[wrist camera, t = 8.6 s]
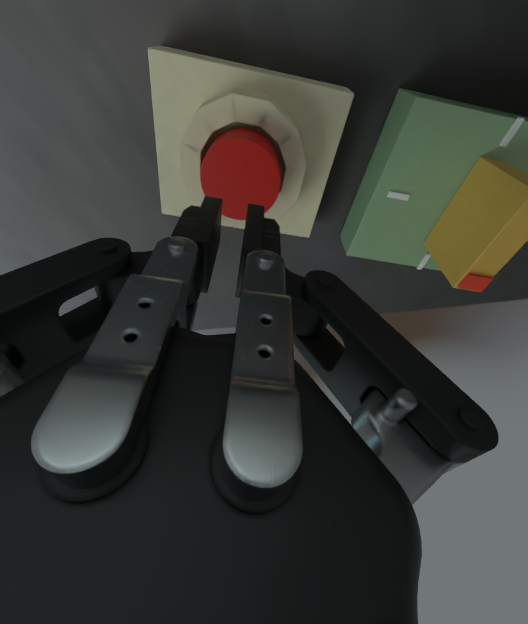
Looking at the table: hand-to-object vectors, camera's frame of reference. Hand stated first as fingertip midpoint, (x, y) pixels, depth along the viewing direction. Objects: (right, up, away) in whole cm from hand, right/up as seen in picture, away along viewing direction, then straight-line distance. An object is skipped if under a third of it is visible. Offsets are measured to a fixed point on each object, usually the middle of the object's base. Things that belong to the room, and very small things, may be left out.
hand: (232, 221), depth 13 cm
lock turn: (+14, +3, +6) cm, 16 cm away
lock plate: (+14, +5, +9) cm, 18 cm away
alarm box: (0, +7, +7) cm, 10 cm away
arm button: (0, +5, +5) cm, 6 cm away
